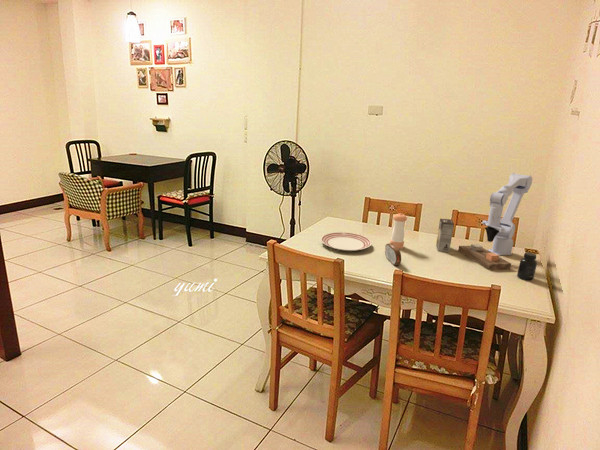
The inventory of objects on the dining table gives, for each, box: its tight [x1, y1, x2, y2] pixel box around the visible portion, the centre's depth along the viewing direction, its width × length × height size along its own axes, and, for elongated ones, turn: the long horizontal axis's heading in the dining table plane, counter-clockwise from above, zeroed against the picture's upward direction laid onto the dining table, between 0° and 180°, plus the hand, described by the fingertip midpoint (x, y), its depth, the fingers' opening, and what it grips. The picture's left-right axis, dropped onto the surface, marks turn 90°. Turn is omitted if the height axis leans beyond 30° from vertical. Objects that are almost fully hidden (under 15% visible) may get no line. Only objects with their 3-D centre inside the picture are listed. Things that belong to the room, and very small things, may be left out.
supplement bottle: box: [516, 251, 538, 282], centre depth 182 cm, size 7×7×12 cm
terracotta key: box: [486, 252, 500, 261], centre depth 197 cm, size 4×4×3 cm
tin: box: [384, 242, 402, 266], centre depth 194 cm, size 15×3×8 cm, turn 9°
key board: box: [457, 245, 512, 271], centre depth 204 cm, size 12×26×3 cm, turn 11°
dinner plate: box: [320, 231, 372, 252], centre depth 215 cm, size 28×27×3 cm
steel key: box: [470, 243, 484, 252], centre depth 209 cm, size 4×4×3 cm
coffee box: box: [435, 218, 455, 253], centre depth 215 cm, size 9×6×16 cm
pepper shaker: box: [389, 212, 408, 250], centre depth 215 cm, size 7×7×19 cm
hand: (490, 241), depth 204 cm, fingers closed
